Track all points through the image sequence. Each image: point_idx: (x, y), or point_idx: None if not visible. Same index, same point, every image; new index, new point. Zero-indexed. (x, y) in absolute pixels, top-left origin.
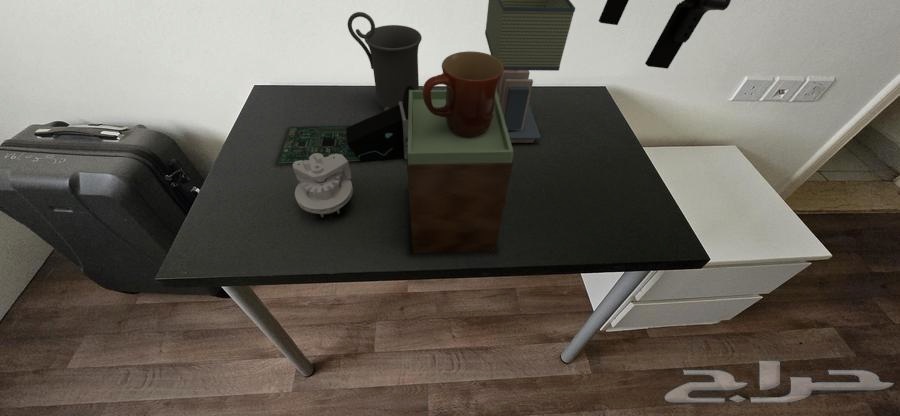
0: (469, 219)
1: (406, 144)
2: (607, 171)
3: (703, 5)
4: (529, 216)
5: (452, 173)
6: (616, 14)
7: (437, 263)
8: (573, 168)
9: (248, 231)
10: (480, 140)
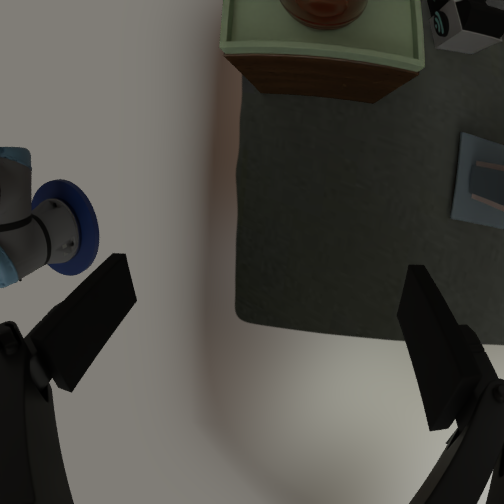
0: None
1: (435, 12)
2: (376, 288)
3: None
4: (313, 150)
5: None
6: (407, 318)
7: None
8: (392, 245)
9: None
10: (279, 12)
